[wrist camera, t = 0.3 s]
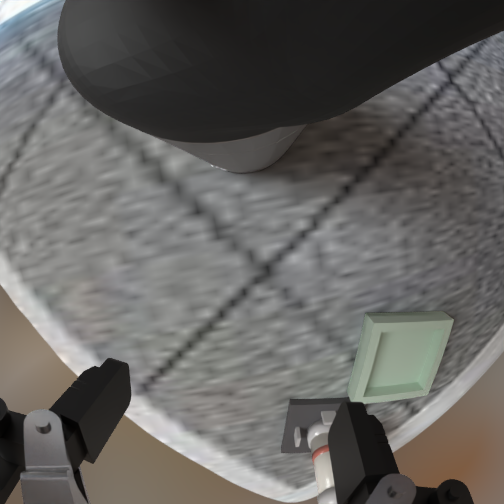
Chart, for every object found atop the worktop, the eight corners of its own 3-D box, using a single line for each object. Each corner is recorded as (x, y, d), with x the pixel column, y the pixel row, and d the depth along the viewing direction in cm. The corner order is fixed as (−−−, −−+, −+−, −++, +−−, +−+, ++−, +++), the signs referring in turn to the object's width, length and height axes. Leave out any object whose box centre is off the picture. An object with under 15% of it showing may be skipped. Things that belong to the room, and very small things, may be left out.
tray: (365, 312, 28) (373, 323, 25) (442, 310, 28) (454, 319, 25) (346, 391, 30) (352, 404, 27) (419, 383, 30) (427, 395, 27)
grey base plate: (289, 399, 30) (292, 416, 27) (364, 396, 30) (371, 412, 27) (281, 447, 32) (282, 464, 29) (347, 444, 32) (351, 459, 29)
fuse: (309, 419, 30) (325, 502, 18) (342, 418, 29) (367, 496, 18) (303, 441, 30) (315, 519, 19) (335, 439, 30) (354, 514, 19)
